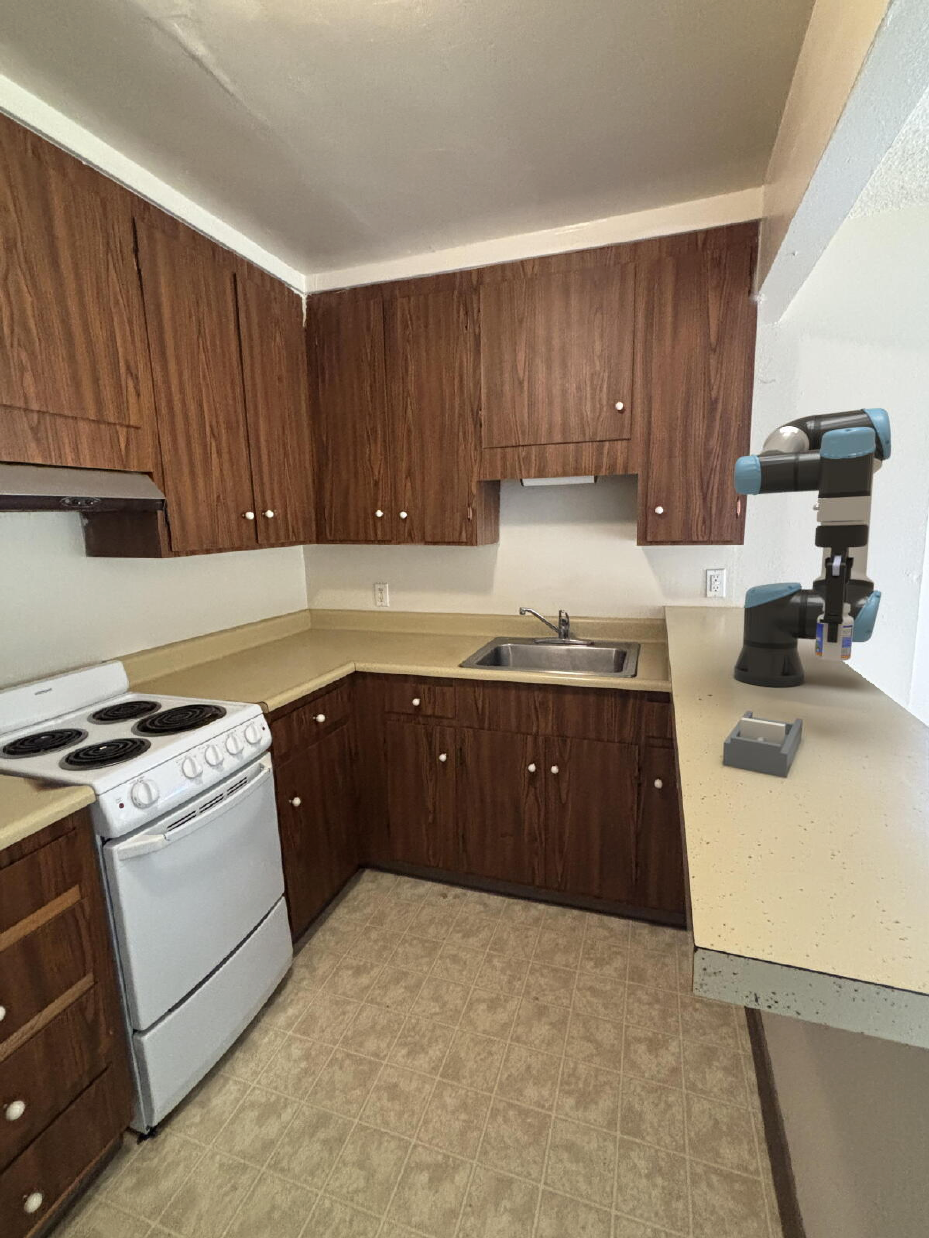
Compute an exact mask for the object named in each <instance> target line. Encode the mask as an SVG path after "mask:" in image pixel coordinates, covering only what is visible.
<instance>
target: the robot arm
mask: <svg viewBox="0 0 929 1238" xmlns="http://www.w3.org/2000/svg"><path fill="white" fill-rule="evenodd" d="M891 439H892V433H891V422H890V417H889V413H888V411H887V410H886V409H885V408H881V407H878V408H877V407H875V408H861V409H855V410H848V411H839V412H832V413H822V414H812V415H807V416H803V417H800V418H797V419H793V420H791V421H789V422H787V423H785V424H783V425H781V426H779V427H778V428H775V429H774V430H773V431H772V432H770V434H769V435H768V436H767V437H766V439H765V441H764V442H763V446H762V450H761V451H760V452H759V454H750V455H745V456H740V457H739V458H737V460H736V462H735V466H734V473H733V475H734V476H733V477H734V479H733V480H734V482H733V483H734V489H735V492H736V494H739V495H741V496H742V495H745V496H746V495H747V496H748V495H752V496H757V495H766V494H767V495H768V494H779V493H798V492H799V493H800V492H801V493H802V492H803V493H804V492H818V494H817V503H818V504H814V505H813V507H812V509H813V511H817V513H816V522H817V523H820V525H817V527H815V535H814V536H815V537H814V545H815V547H817V548H822V557H821V570H820V571H821V572H820V573H821V574H820V575H819V576H818V577H817V578H816V579H814V580H813V581H812V586H811V587H812V588H811V589H805V588H804V589H802V588H803V586H802V585H801V583H800V582H795V581H794V582H777V583H768V584H761V585H755V586H753V587H751V588H749V589H748V590H747V591H746V593H745V599H744V604H743V609H744V614H743V615H744V616H743V617H744V618H743V639H742V640H743V641H742V648H741V650H740V652H739V655H738V657H737V660H736V662H735V664H734V667H733V677H734V678H735V679H736V680H738V681H740V682H742V683H746V684H747V683H748V684H751V685H756V686H757V685H758V686H762V687H763V686H764V687H776V688H777V687H778V688H782V687H784V688H785V687H786V688H787V687H788V688H789V687H796V686H800V685H802V684H804V682H805V670H804V667H803V663H802V660H801V656H800V654H799V651H798V650H799V649H798V645H799V643H798V642H799V640H813V641H816V630H817V619H818V617H819V616H820V615H822V614H824V616H823V619H820V623H824V633H823V648H822V659H821V660H823V661H832V662H842V661H841V649H842V635H843V623H842V622H843V607H844V603H848V604H850V612H849V613H848V615H849V616H851V617H852V618H853V619H854V625H853V636H852V643H865V642H868V641H869V640H870V639H871V638H872V636H873V632H874V628H875V625H876V621H877V620H876V619H877V616H878V612H879V607H880V602H881V598H882V595H883V594H882V591H879V590H876V589H874V587H875V582H874V581H873V580H872V579H870V578H869V577H868V575H867V571H868V570H867V569H868V568H867V567H868V559H869V558H868V554H869V541H870V529H871V528H870V526H871V515H872V514H871V513H872V498H873V486H874V484H873V483H874V474H876V472H878V471H880V470H881V469H882V467H883V461H886V460H888V459H890V458H891V455H892V440H891ZM823 603H825V613H824V611H823ZM834 614H837V615H834Z"/></svg>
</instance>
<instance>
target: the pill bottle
mask: <svg viewBox="0 0 929 1238" xmlns="http://www.w3.org/2000/svg"><path fill="white" fill-rule="evenodd" d="M823 611H824V613H825V603H823ZM849 612H850V604H848V603H844V607H843V622H842V623H843V635H842V649H841V661H840V662H842V661H843V662H846V661H848V660H850V659H851V657H852V646H853V642H852V636H853V625H854V619H853V618H852V617H851V616H849V615H848V613H849ZM834 615H837V614H834ZM823 616H824V614H822V615H820V616H819V617H818V619H817V630H816V640H815V647H814V656H815V657H816V658H818V659H821V660H822V648H823V633H824V623H820V619H823Z"/></svg>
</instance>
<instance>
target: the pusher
mask: <svg viewBox="0 0 929 1238" xmlns="http://www.w3.org/2000/svg"><path fill="white" fill-rule="evenodd" d="M741 718H742V719H741ZM741 718H740V719H741V728H740V737H742V738H748V739H753V740H759V741H765V742H770V743H776V744H781V749H782V747H783V745H784V742H785V724H781V723H774V722H768V721H762V720H755V719H749V718H743V716H742V717H741Z"/></svg>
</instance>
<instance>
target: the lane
mask: <svg viewBox="0 0 929 1238" xmlns="http://www.w3.org/2000/svg"><path fill="white" fill-rule="evenodd" d="M753 715H754V713H753V711H751V710H746V711H745V713H744V714H743V716H742V717H743V718H749V719H755V720H762V721H768V722H774V723H781V724H785V742H784V745H783V747H782V749H781V744H776V743H770V742H765V741H759V740H753V739H748V738H742V737H740V728H741V719H742V717H741V718H740V719H739V721H738V722H737V723H736V725H735V727H733V729H732V731H731V732H730V733H729V734H728V736H727V737H726V739H725V740H724V742H723V754H722V765H724V766H727V767H733V768H738V769H743V770H748V771H753V772H757V773H761V774H766V775H772V776H777V777H782V778H787V776H788V774H789V772H790V769H791V767H792V764H793V761H794V759H795V757H796V754H797V752H798V749H799V747H800V744H801V742H802V740H803V739H802V737H803V720H804V719H803V718H797V717H796V718H795V720H794V722H787V721H782V720H775V719H770V718H769V719H768V718H763V717H762V718H761V717H758V716H757V717H756V716H753Z"/></svg>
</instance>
